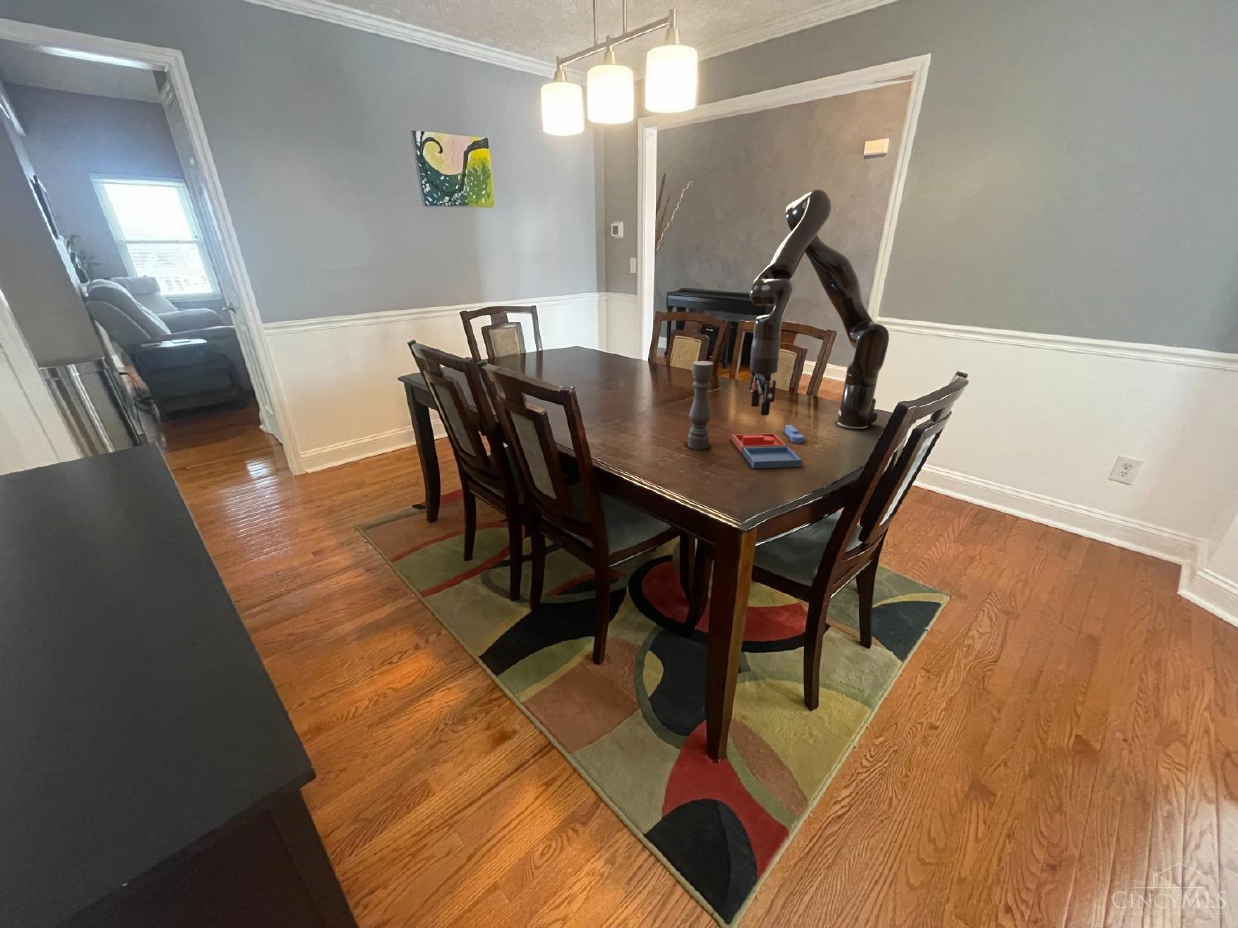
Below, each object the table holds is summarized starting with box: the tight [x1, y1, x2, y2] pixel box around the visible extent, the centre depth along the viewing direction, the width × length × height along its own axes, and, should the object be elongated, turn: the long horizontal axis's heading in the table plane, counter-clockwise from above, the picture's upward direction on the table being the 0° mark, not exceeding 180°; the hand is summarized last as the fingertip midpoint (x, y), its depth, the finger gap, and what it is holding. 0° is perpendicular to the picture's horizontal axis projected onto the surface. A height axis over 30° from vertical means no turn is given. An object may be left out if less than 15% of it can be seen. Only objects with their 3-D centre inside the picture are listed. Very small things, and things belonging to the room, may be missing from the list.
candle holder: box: [687, 360, 714, 451], centre depth 143 cm, size 6×6×25 cm
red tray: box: [731, 432, 788, 454], centre depth 147 cm, size 13×10×2 cm
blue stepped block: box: [784, 424, 805, 444], centre depth 153 cm, size 9×4×3 cm, turn 4°
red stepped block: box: [742, 435, 774, 446], centre depth 147 cm, size 9×4×3 cm, turn 93°
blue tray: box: [741, 445, 803, 469], centre depth 137 cm, size 13×10×2 cm
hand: (759, 410), depth 143 cm, fingers open, 8 cm apart
